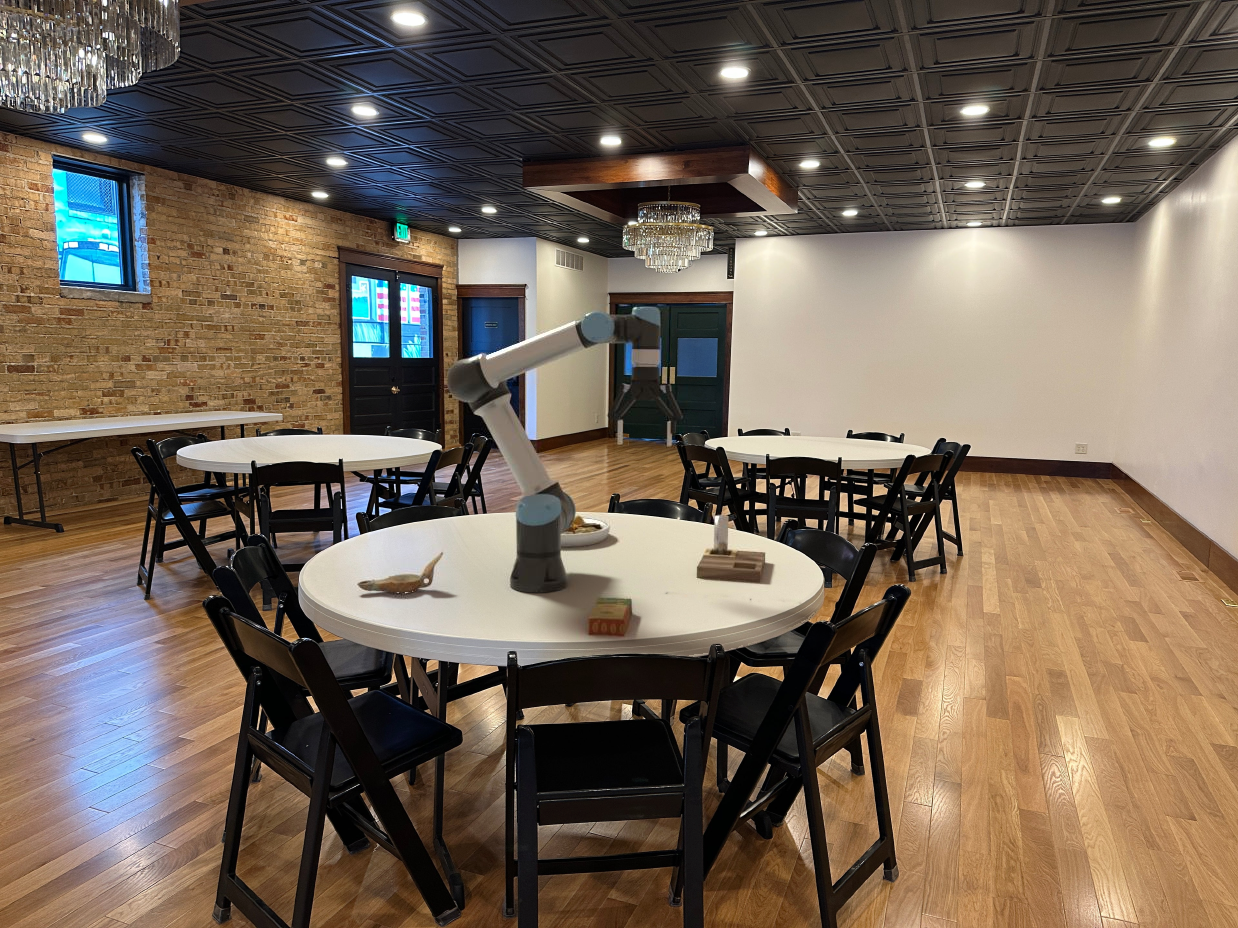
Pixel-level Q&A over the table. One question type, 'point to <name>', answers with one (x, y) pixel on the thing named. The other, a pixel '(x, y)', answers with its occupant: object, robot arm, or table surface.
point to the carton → (610, 617)
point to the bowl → (584, 532)
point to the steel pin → (721, 535)
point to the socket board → (732, 565)
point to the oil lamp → (402, 580)
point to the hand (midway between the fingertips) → (644, 445)
